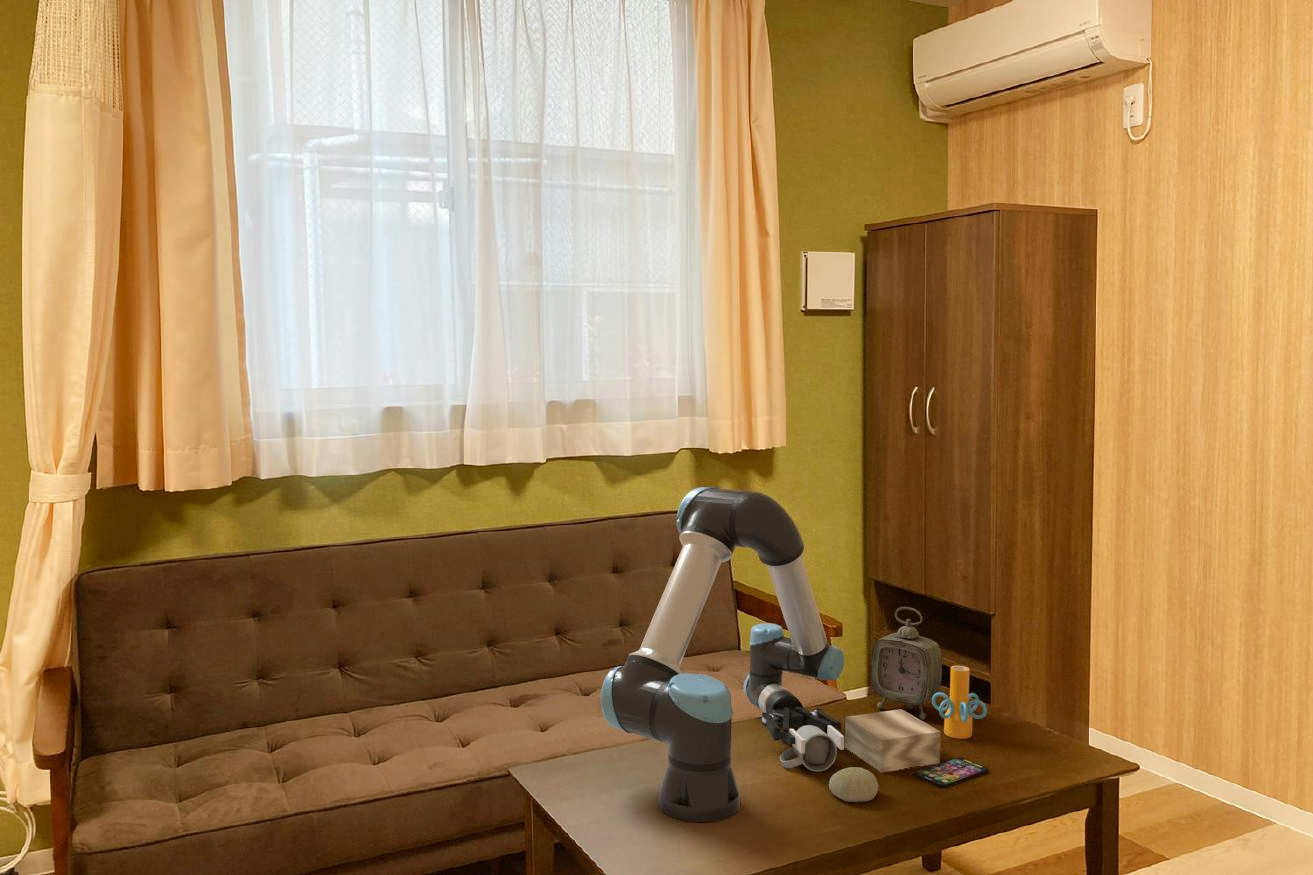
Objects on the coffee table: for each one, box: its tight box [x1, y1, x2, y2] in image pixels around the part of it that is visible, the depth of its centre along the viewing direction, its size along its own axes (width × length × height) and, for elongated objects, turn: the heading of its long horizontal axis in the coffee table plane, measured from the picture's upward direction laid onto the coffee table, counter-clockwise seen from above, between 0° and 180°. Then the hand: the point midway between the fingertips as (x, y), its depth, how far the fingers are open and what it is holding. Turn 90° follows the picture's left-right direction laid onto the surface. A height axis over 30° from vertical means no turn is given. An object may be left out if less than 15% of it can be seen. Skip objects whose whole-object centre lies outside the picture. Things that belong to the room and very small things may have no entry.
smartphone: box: [912, 756, 990, 789], centre depth 206 cm, size 8×1×15 cm
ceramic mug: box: [779, 725, 838, 773], centre depth 210 cm, size 11×8×8 cm
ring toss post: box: [931, 665, 988, 740], centre depth 227 cm, size 12×10×15 cm
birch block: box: [844, 708, 942, 773], centre depth 215 cm, size 14×14×7 cm
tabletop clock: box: [870, 606, 943, 721], centre depth 241 cm, size 14×9×25 cm, turn 50°
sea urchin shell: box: [828, 766, 879, 803], centre depth 196 cm, size 9×8×8 cm
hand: (822, 744), depth 205 cm, fingers closed on ceramic mug, 8 cm apart
